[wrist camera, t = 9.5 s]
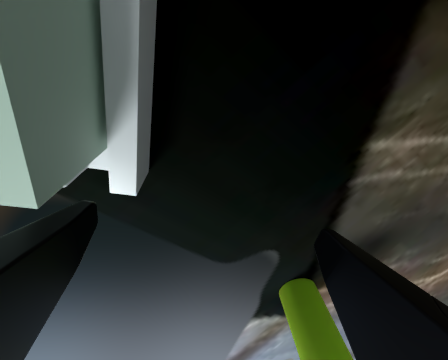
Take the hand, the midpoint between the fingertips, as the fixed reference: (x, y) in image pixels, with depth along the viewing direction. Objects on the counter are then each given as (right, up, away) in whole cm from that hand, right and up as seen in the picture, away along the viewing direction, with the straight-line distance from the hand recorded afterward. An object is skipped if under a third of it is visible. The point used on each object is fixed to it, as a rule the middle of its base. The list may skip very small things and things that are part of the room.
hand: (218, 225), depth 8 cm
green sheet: (-9, +10, +7) cm, 15 cm away
